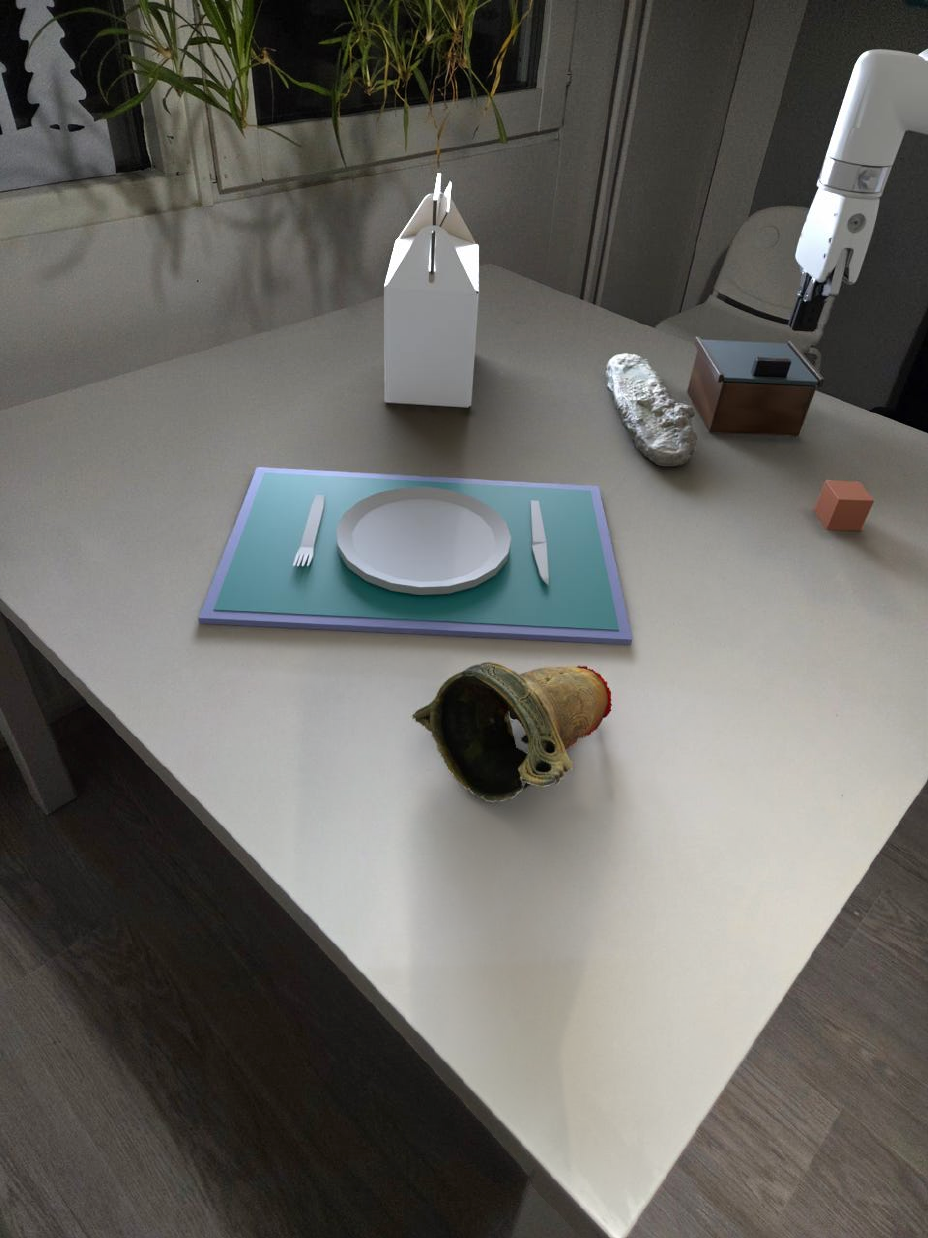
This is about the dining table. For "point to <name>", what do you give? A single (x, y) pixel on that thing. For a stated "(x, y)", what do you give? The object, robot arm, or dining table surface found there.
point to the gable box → (432, 308)
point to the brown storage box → (748, 399)
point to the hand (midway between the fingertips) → (801, 328)
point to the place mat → (420, 558)
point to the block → (843, 505)
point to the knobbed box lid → (759, 362)
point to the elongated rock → (650, 411)
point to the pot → (482, 732)
